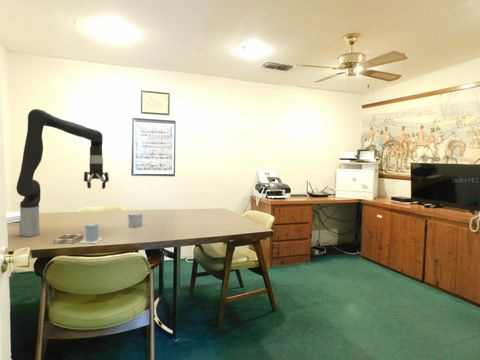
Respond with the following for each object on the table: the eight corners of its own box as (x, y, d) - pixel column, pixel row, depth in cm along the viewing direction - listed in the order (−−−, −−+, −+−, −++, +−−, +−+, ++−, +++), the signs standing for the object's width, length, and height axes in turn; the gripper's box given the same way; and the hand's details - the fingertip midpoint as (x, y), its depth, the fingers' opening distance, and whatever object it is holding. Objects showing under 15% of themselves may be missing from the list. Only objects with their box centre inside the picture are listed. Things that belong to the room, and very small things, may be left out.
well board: (53, 243, 167) (53, 239, 167) (64, 237, 178) (63, 234, 178) (73, 243, 168) (73, 239, 168) (83, 238, 179) (83, 234, 179)
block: (85, 240, 172) (85, 225, 171) (91, 238, 177) (91, 223, 176) (92, 241, 171) (92, 226, 170) (98, 239, 175) (97, 224, 174)
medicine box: (138, 225, 215) (138, 213, 214) (142, 226, 212) (142, 213, 211) (128, 226, 209) (128, 214, 208) (131, 228, 206) (131, 215, 205)
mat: (79, 243, 168) (79, 242, 168) (87, 238, 178) (87, 237, 178) (96, 243, 169) (96, 242, 169) (103, 238, 179) (103, 238, 179)
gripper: (81, 162, 184) (82, 188, 186) (105, 163, 185) (105, 189, 187) (87, 162, 192) (87, 187, 193) (110, 162, 193) (110, 188, 194)
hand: (96, 188), depth 190 cm, fingers open, 8 cm apart
